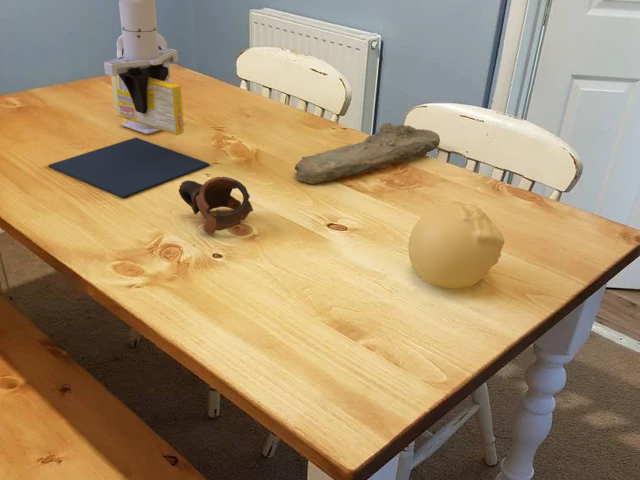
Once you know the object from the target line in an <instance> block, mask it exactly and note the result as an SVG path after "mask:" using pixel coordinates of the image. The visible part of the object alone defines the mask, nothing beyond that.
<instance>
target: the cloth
mask: <svg viewBox="0 0 640 480" xmlns="http://www.w3.org/2000/svg"><path fill="white" fill-rule="evenodd" d="M207 167H210V163H209V162H206V161H204V160H200V159H197V158H195V157H192V156H189V155H186V154H183V153H181V152H178V151H175V150H172V149H169V148H167V147H164V146H161V145H158V144H156V143H153V142H150V141H147V140H145V139H141V138H139V137H133V138H130V139H126V140H123V141H119V142H117V143H114V144H111V145H107V146H105V147H102V148H101V147H100V148H98V149H94V150H92V151H88V152H85V153H82V154H79V155H76V156H75V155H74V156H73V157H69V158H66V159H63V160H60V161H56V162H53V163H50V164H48V168H50V169H53V170H55V171H58V172H60V173H62V174H65V175H66V176H69V177H72V178H74V179H76V180H79V181H81V182H84V183H86V184H88V185H90V186H93V187H95V188H98V189H100V190H102V191H105V192H107V193H110V194H112V195H114V196H116V197H118V198H121V199H126V198H129V197H131V196H134V195H137V194H140V193H141V192H144V191H146V190H149V189H152V188H155V187H157V186H160V185H162V184H165V183H168V182H170V181H173V180H175V179H178V178H182V177H183V176H186V175H188V174H189V175H190V174H191V173H194V172H196V171H199V170H201V169H204V168H207Z"/></svg>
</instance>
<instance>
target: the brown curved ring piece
mask: <svg viewBox="0 0 640 480" xmlns="http://www.w3.org/2000/svg"><path fill="white" fill-rule="evenodd" d="M178 188H179V189H178V193H179V196H180V198H181V199H182V200H183V201H184V202H185V203H186V204H187V205H188V207H190V208H191V209H192V212H193V215H198V213H200V214H201V216H202V217H203V218H204V219H205V220H204V223H203V224H204V225H203V227H202V228H203V231H204V232H206V233H207V234H209V235H211V236H212V235H214V234H215V233H216V231H219V232H220V231H224V230H227V229H231V228H234V227H236V226H238V225H240V224H242V221H245V220H246V219H247V218H248V215H249V214H250V213H252V212H254V208H253V205H252V204H251V202H250V198H251V195H250V194H249V193H248V189H247V187H246V186H245V185H244V184H243V183H242V182H240V181H239V180H237V179H234V178H232V177H229V176H216V177H212V178H210V179H208V180H207V181H205V182H204V183H203V184H202V183H199V182H197V181H195V180H187V179H186V180H184V181H182V182H181V184H180V185H179V187H178ZM233 190H238V191H239V192H240V193H241V195H242V201H241V200H239V199H237V198H235V197H234V195H233V196H232V195H231V194H232V191H233ZM219 208H228V209H231V210H229V211H221V210H215V214H213V213H211V211H212V210H214V209H219Z"/></svg>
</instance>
